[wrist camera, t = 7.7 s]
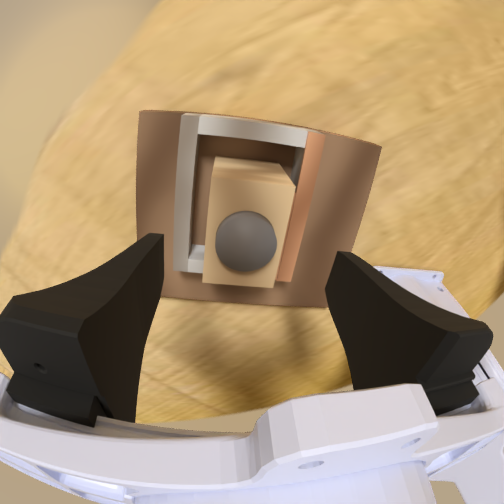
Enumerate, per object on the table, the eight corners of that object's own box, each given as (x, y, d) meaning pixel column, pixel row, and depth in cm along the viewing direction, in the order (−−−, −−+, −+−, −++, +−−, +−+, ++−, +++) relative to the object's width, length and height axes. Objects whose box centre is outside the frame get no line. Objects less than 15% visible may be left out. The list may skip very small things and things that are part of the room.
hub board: (374, 143, 19) (397, 154, 16) (326, 298, 26) (337, 324, 23) (144, 110, 16) (128, 114, 14) (144, 285, 23) (134, 311, 20)
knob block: (281, 163, 18) (302, 193, 13) (265, 245, 21) (277, 297, 16) (215, 155, 17) (210, 181, 12) (207, 239, 20) (201, 291, 15)
